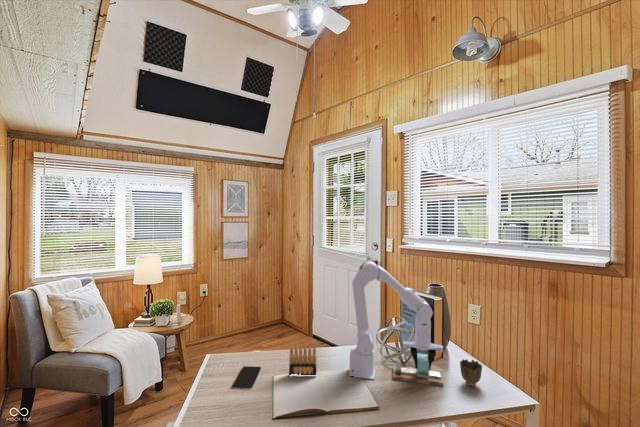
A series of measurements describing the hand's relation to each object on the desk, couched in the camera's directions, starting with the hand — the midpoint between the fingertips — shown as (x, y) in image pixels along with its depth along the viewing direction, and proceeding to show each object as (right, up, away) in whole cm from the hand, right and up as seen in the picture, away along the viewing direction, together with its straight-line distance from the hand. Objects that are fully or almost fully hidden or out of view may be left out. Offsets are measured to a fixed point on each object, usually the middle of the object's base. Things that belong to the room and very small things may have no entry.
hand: (422, 368), depth 121 cm
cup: (+16, -4, -5) cm, 17 cm away
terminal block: (0, -2, 0) cm, 2 cm away
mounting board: (-2, -4, 0) cm, 4 cm away
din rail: (-2, -2, 0) cm, 3 cm away
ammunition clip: (-46, -3, 0) cm, 46 cm away
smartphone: (-67, -4, -2) cm, 68 cm away
